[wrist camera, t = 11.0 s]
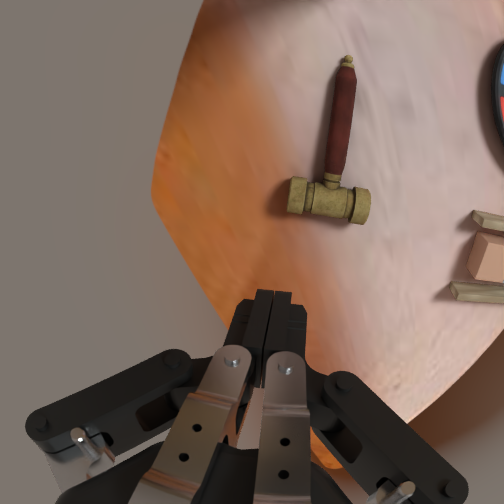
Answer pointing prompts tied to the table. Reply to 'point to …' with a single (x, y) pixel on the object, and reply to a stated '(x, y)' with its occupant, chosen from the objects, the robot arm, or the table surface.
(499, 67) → the electronic game
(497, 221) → the corral
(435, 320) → the table surface
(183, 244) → the table surface
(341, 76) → the gavel
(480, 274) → the peach wooden cube
